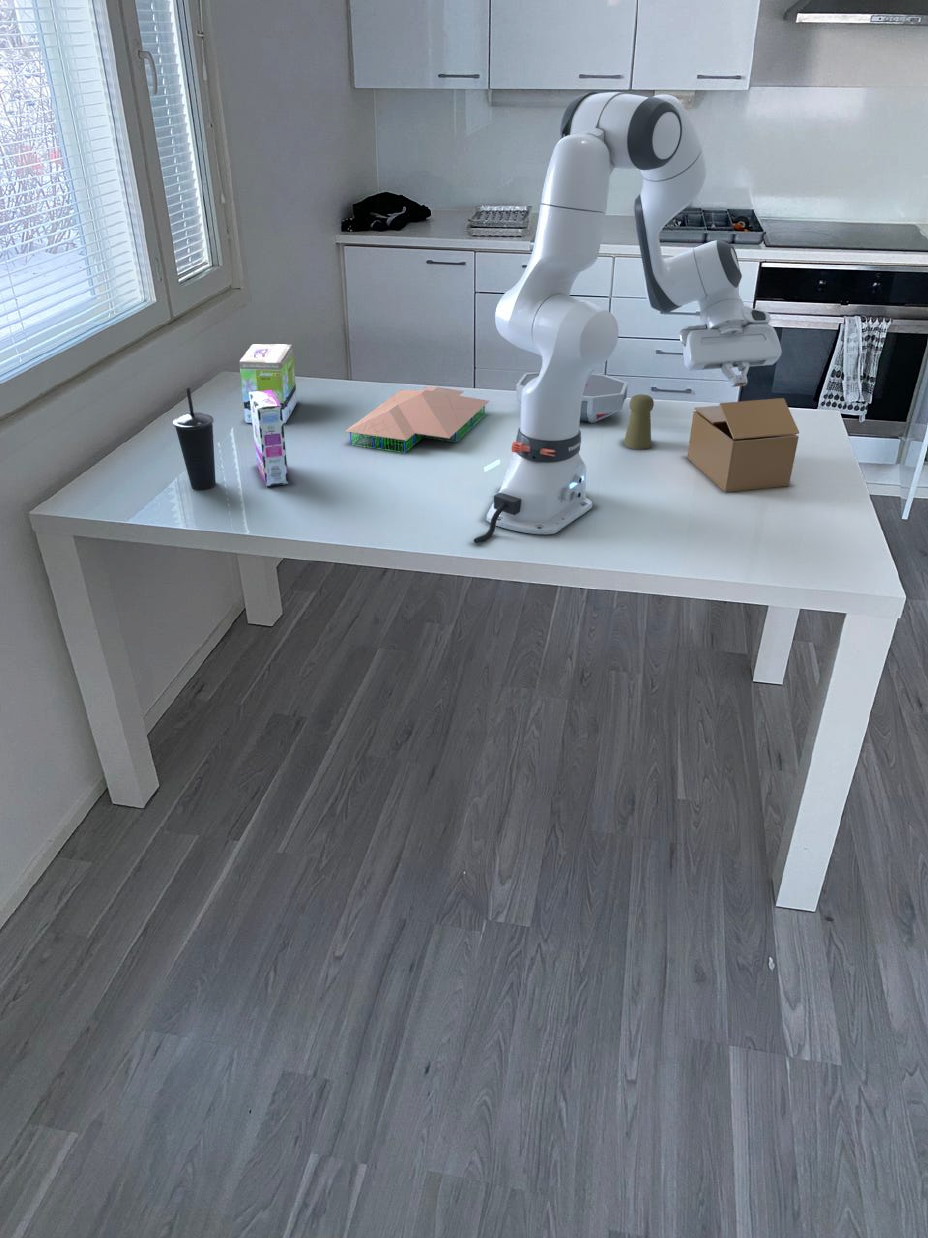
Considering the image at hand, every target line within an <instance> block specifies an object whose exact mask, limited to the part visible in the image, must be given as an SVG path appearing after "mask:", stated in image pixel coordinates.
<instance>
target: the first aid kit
mask: <svg viewBox="0 0 928 1238" xmlns="http://www.w3.org/2000/svg"><path fill="white" fill-rule="evenodd" d="M539 374H540V371H536V372H526V373H525V372H524V374H523V375H522V376H521V378H520V379H519V381H518V382H517V383H516V387H515V388H516V389H515V390H516V393H515V401H517V403H519V404H521V393H522V390H523V388H524V386H525V385H526V384H527V383H528V382H529V381H531V380H532V379H534V378H536V377H538V376H539ZM628 386H629V382H628V381H625V380H622V379H620V378H616V377H613V376H610V375H607V374H602V373H591V375H590V377H589V379H588V380H587V383H586V385H585V388H584V391H583V396H582V403H581V412H580V422H588V423H589V424H590V423H591V424H592V423H593V424H594V423H596V422H599V421H601V420H604V419H605V418H608V417H609V416H611V415H614V414H616V413H619V412H620V411H622V410H623V407H624V403H625V401H626V399H627V396H628Z"/></svg>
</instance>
